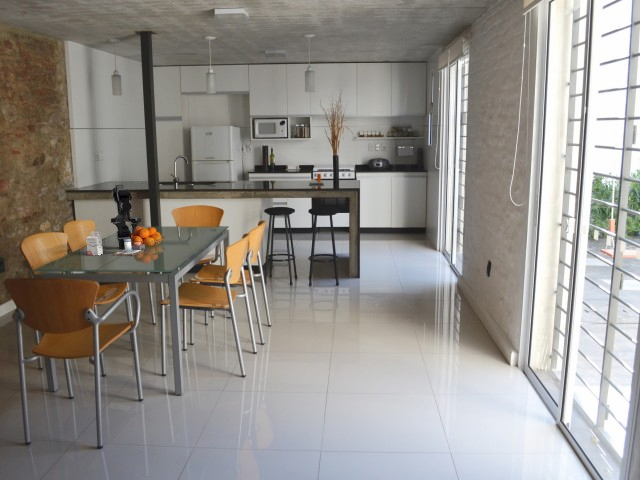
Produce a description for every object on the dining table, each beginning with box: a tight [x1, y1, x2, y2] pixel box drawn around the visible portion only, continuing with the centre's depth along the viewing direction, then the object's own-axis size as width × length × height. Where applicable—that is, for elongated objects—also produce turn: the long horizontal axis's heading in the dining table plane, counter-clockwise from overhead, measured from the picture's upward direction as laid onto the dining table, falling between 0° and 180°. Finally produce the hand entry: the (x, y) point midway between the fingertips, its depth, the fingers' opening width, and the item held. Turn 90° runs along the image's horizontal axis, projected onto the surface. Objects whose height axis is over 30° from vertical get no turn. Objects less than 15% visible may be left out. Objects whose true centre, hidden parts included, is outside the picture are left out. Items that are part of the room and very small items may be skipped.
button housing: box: [131, 244, 146, 251], centre depth 398 cm, size 6×6×3 cm
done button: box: [133, 241, 142, 246], centre depth 397 cm, size 4×4×3 cm
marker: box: [124, 238, 132, 252], centre depth 386 cm, size 4×4×8 cm
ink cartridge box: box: [85, 230, 104, 256], centre depth 385 cm, size 9×5×15 cm, turn 71°
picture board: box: [112, 249, 145, 257], centre depth 387 cm, size 14×14×1 cm
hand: (127, 233), depth 385 cm, fingers open, 9 cm apart
